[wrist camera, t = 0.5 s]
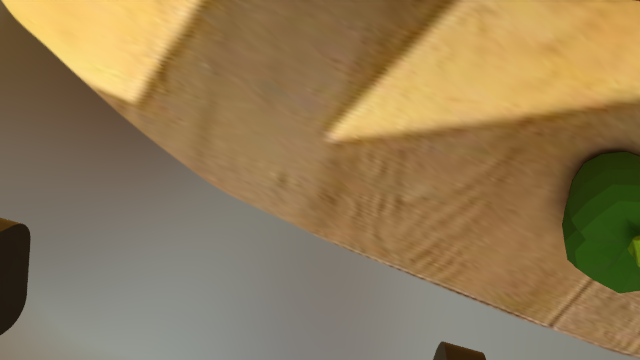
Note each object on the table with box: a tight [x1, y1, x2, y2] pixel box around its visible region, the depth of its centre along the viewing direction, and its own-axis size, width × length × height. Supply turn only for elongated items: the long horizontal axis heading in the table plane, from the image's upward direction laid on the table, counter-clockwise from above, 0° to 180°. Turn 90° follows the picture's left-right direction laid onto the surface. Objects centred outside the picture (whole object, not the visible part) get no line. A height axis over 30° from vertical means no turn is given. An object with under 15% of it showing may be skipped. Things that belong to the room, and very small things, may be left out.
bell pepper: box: [562, 152, 640, 293], centre depth 36 cm, size 8×8×10 cm
